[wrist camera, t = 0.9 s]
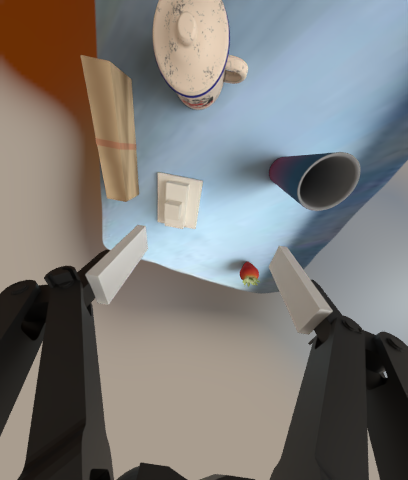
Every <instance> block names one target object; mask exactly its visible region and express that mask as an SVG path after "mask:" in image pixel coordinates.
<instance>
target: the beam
mask: <svg viewBox="0 0 408 480" xmlns="http://www.w3.org/2000/svg"><path fill="white" fill-rule="evenodd" d="M81 59H82V65H83V71H84V76H85V81H86V87H87V92H88V97H89V103H90V108H91V114H92V119H93V124H94V130H95V135H96V138H95V139H96V144H97V146H98V151H99V157H100V162H101V168H102V173H103V178H104V184H105V189H106V195H107V198H109V199H114V200H119V201H125V202H127V201H128V200H130V199H132V198H134V197H136V196H137V195H139V185H138V171H137V156H136V141H135V126H134V111H133V96H132V81H131V79H130V78H129V77H128V76H127V75H125V74H124V73H123V72H122V71H121V70H120V69H118V68H117V67H116V66H115V65H114V64H112V63H111V62H110V61H106V60H102V59H97V58H92V57H87V56H82V55H81Z"/></svg>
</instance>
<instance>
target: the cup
mask: <svg viewBox="0 0 408 480" xmlns="http://www.w3.org/2000/svg"><path fill="white" fill-rule="evenodd" d="M269 176H270V179H271V180H272V181H273V182H274V183H275V184H277V185H278V186H279V187H280V188H281V189H283V190H284V191H285V192H286V193H288V194H289V195H290V196H291V197H292V198H294V199H295V200H296V201H297V202H298V203H300V204H301V205H302V206H303V207H305V208H306V209H309V210H314V211H320V210H325V209H329V208H331V207H334V206H335V205H337V204H339V203H340V202H342V201H343V200H344V199H346V198H347V197H348V196H349V195H350V193H351V192H352V191H353V190H354V188H355V186H356V185H357V182H358V180H359V177H360V165H359V162H358V161H357V159H356V158H355V157H354V156H353V155H351V154H348V153H344V152H337V153H325V154H313V155H301V156H289V157H281V158H279V159H277V160H276V161H275V162H274V163H273V164H272V165H271V167H270V170H269Z"/></svg>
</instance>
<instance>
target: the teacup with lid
mask: <svg viewBox="0 0 408 480" xmlns="http://www.w3.org/2000/svg"><path fill="white" fill-rule="evenodd" d="M229 46H230V30H229V22H228V17H227V13H226V10H225V7H224V4H223V2H222V0H159V2H158V5H157V8H156V11H155V16H154V22H153V47H154V53H155V58H156V62H157V65H158V68H159V70H160V72H161V74H162V76H163V78H164V80H165V81H166V83H167V84H168V85H169V86H170V88H171V89H172V90H173V91H175V92H176V94H177V95H178V96H179V98H180V99H181V101H182V102H183V103H184V104H185V105H187V106H188V107H190V108H192V109H195V110H202V109H205V108H207V107H209V106H211V105H212V104H213V103H214V102H215V101H216V99H217V98H218V96H219V94H220V92H221V90H222V87H223V83H224V82H226V83H232V84H235V83H240V82H242V81H243V80H244V79H245V78H246V76H247V72H248V66H247V64H246V62H245V61H244V60H242V59H240V58H238V57H235V56H232V55H228V54H229ZM225 69H226V70H225ZM228 70H230V71H228Z"/></svg>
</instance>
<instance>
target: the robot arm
mask: <svg viewBox="0 0 408 480" xmlns="http://www.w3.org/2000/svg"><path fill="white" fill-rule="evenodd" d="M147 249H148V245H147V235H146V226H142V225H137V226H136V227H135V228H134V229H133V230H132V231H131V232H130V233H129V234H128V235H127V236H125V237H124V238H123V239H122V240H121V241H120V242H119V243H118V244H117V245H116V246H115V247H114V248H113V249H112V250H105V251H103V252H101V253H99V254H98V255H97V256H96V257H95V258H94V259H92V260H91V261H90V262H89V263H88V264H87V265H85V266H84V267H83V268H82V269H81V270H80V271H79V272H76V269H75V268H74V267H72V266H63V267H59V268H56V269H54V270H52V271H50V272H49V273H48V274H46V276H45V277H44V279H45V281H46V282H47V284H48V285H39V286H38V284H37V283H36V281H33V280H25V281H20V282H17V283H15V284H12V285H11V286H9V287H7V288H6V289H5V290H4V291H2V292H1V294H0V436H1V433H2V431H3V429H4V427H5V424H6V422H7V420H8V418H9V415H10V413H11V411H12V409H13V406H14V404H15V402H16V399H17V397H18V395H19V393H20V391H21V388H22V386H23V384H24V382H25V379H26V377H27V375H28V373H29V370H30V368H31V366H32V364H33V361H34V359H35V357H36V355H37V352H38V350H39V348H40V346H41V343H42V341H43V345H42V352H41V358H40V366H39V372H38V379H37V387H36V394H35V400H34V407H33V414H32V421H31V427H30V434H29V442H28V448H27V455H26V461H25V466H24V469H23V471H22V474H21V475H20V477H19V478H18V480H114V477H113V468H112V459H111V452H110V447H109V443H108V440H107V436H106V430H105V422H104V412H103V403H102V393H101V383H100V374H99V365H98V355H97V345H96V336H95V326H94V317H93V308H92V304H91V302H92V301H93V300H94V298H96V301H97V303H100V304H107V305H109V303H110V302H111V300H112V299H113V297H114V296H115V295H116V293H117V292H118V291H119V289H120V288H121V286H122V285H123V283H124V282H125V281H126V279H127V278H128V276H129V275H130V274H131V272H132V271H133V269H134V268H135V266H136V265H137V264H138V262H139V260H140V259H141V258H142V257H143V255H144V254H145V252H146V251H147ZM269 269H270V271H271V273H272V275H273V278H274V280H275V282H276V284H277V287H278V289H279V291H280V293H281V295H282V298H283V300H284V302H285V305H286V307H287V309H288V311H289V313H290V316H291V318H292V320H293V323H294V325H295V327H296V329H297V332H298V333H303V334H310V333H311V332H312V331H313V330H314V331H315V333H316V334H317V335H316V336H315V337H314V338H313V339H312V340H311V341H310V342H309V343H308V344H312V343H313V344H312V348H311V351H310V355H309V359H308V362H307V366H306V370H305V373H304V377H303V380H302V384H301V388H300V391H299V395H298V398H297V402H296V406H295V409H294V413H293V416H292V420H291V424H290V427H289V431H288V435H287V438H286V442H285V446H284V449H283V453H282V456H281V459H280V461H279V463H278V464H277V466H276V467H275V468H274V470H273V473H272V475H271V478H270V480H369V473H368V438H367V428H368V432H369V436H370V440H371V444H372V448H373V452H374V456H375V461H376V465H377V468H378V472H379V477H380V480H408V346H407V345H406V344H405V343H403V341H401V340H400V339H399V338H397V337H395V336H393V335H392V334H389V333H387V332H380V333H378V334H377V335H374V334H371V333H369V332H367V331H364V330H362V328H361V327H360V326H359V325H358V324H357V323H356V322H355V321H353V320H352V319H350V318H348V317H346V316H342V314H341V313H340V312H339V310H338V309H337V308H336V306H335V305H334V304H333V302H332V301H331V300H330V299H329V297H327V295H326V293H325V292H324V291H323V289H322V288H321V287H320V285H318V284H317V283H316V282H315V281H314V280H310V279H309V277H308V276H307V274H306V273H305V272H304V270H303V269H302V267H301V266H300V265H299V263H298V262H297V261H296V259H295V258H294V256H293V255H292V254H291V252H290V251H289V249H288V248H287V247H283V246H279V247H278V249H277V251H276V253H275V255H274V257H273V259H272V261H271V263H270V265H269ZM384 371H386V373H387V376H388V378H386V377H385V375H384V373H383V372H384ZM117 480H187V479H185V478H184V477H182V476H181V475H180V474H178V473H177V472H175V471H174V470H173V469H171V468H170V467H168V466H161V465H154V464H147V463H140V466H138V467H135V468H133V469H131V470H129V471H128V472H126V473H124V474H123V475H122V476H120V477H119V478H118V479H117ZM200 480H255V479H249V478H242V477H235V476H229V475H218V474H214V475H211V476H209V477H206V478H203V479H200Z"/></svg>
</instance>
